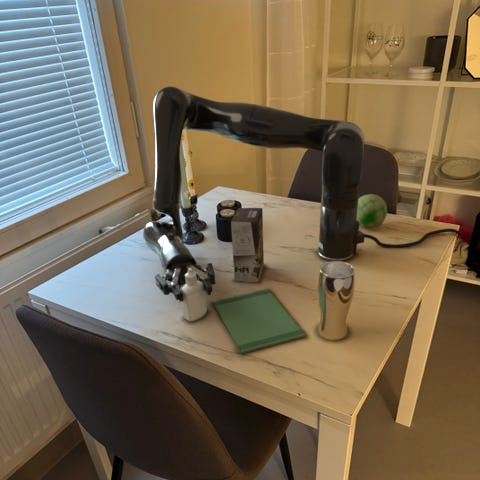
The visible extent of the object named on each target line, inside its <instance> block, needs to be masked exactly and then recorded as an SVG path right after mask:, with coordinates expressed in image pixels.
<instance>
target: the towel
mask: <svg viewBox="0 0 480 480" xmlns="http://www.w3.org/2000/svg"><path fill="white" fill-rule="evenodd" d="M212 305H213V306H214V308H215V309H216V312H217V313H218V315H219V317H220V318H221V320H222V322H223V323H224V326H225V327H226V329H227V330H228V332H229V334H230V335H231V337H232V339H233V340H234V342H235V344H236V347H238V350H239V351H240V353H241V354H245V353H250V352H255V351H257V350H261V349H265V348H268V347H271V346H276V345H279V344H283V343H286V342H287V343H288V342H290V341H294V340H298V339H301V338H305V337H306V334H305V333H304V331H303V330H302V329H301V328H300V327H299V325H298V324H297V323H296V322H295V321H294V319H293V318H292V317H291V315H290V314H289V313H288V312H287V310H286V309H285V308H284V306H282V304H281V303H280V302H279V301H278V299H277V298H276V297H275V295H274V294H273V293H272V292H271V290H270V289H269V288H267V289H261V290H257V291H253V292H249V293H244V294H240V295H236V296H232V297H227V298H223V299H218V300H214V301H212Z"/></svg>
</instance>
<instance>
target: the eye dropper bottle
mask: <svg viewBox="0 0 480 480" xmlns="http://www.w3.org/2000/svg"><path fill="white" fill-rule="evenodd" d="M185 280H186V284H185V285H182V287H181V289H180V290H181V292H182V295H183V301H182V302H181V307H182V312H183V319H184V320H186V321H189V322H195V321H197V320H199V319H201V318H203V317H204V316H205V315H206V314H207V312H208V308H207V307H208V306H207V298H206V291H205V289H204V284H203V283H202V282H200V281H197V277H196V273H194V272H192V269H191V268H189V269H188V273H186V274H185Z"/></svg>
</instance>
